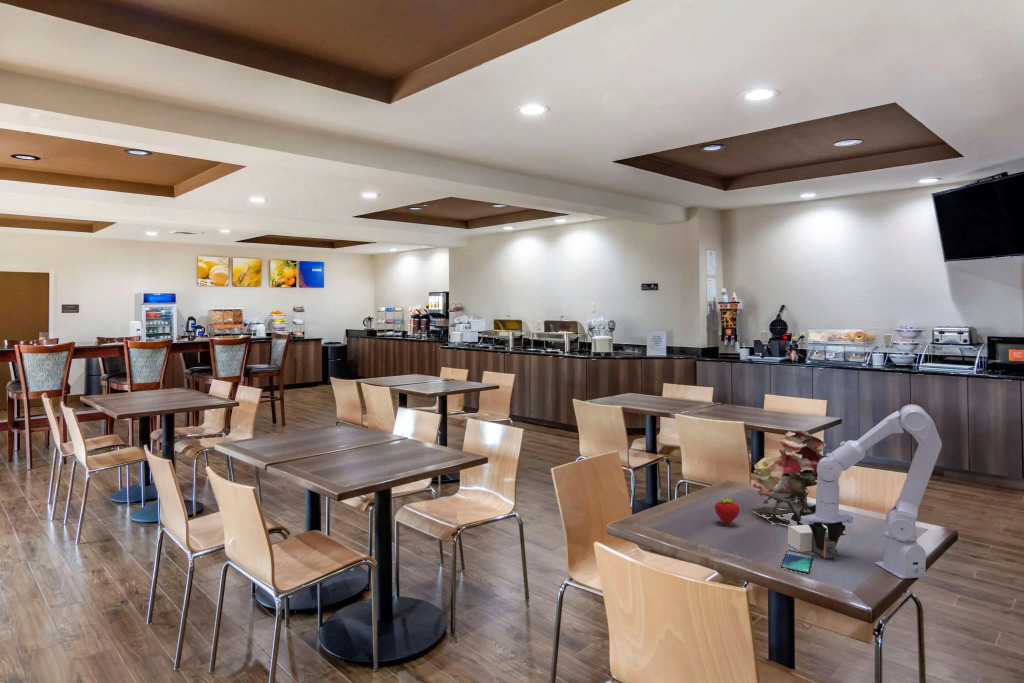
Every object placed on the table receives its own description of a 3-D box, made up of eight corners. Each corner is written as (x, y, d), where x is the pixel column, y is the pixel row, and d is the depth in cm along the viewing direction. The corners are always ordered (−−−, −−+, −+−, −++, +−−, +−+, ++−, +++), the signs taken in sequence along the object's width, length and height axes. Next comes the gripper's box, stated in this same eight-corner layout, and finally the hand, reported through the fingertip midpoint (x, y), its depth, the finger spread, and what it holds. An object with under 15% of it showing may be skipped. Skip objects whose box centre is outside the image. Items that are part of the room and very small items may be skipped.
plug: (839, 560, 167) (840, 544, 167) (829, 560, 167) (829, 545, 167) (819, 547, 176) (820, 533, 176) (809, 548, 176) (810, 533, 175)
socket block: (835, 550, 175) (835, 531, 175) (799, 551, 174) (800, 533, 174) (822, 542, 181) (822, 524, 181) (787, 543, 180) (788, 525, 179)
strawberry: (737, 529, 191) (738, 498, 190) (712, 525, 194) (713, 495, 194) (740, 524, 196) (741, 493, 196) (715, 520, 200) (716, 490, 199)
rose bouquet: (810, 505, 216) (813, 421, 214) (855, 536, 186) (859, 439, 185) (738, 504, 216) (740, 421, 214) (771, 535, 187) (774, 438, 185)
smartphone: (814, 554, 171) (809, 573, 158) (813, 557, 171) (808, 576, 158) (786, 549, 175) (779, 567, 162) (786, 551, 175) (779, 570, 162)
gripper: (841, 495, 175) (840, 541, 176) (794, 497, 173) (793, 543, 174) (858, 503, 168) (856, 551, 169) (810, 505, 166) (808, 553, 167)
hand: (825, 548), depth 171 cm, fingers closed on plug, 3 cm apart
